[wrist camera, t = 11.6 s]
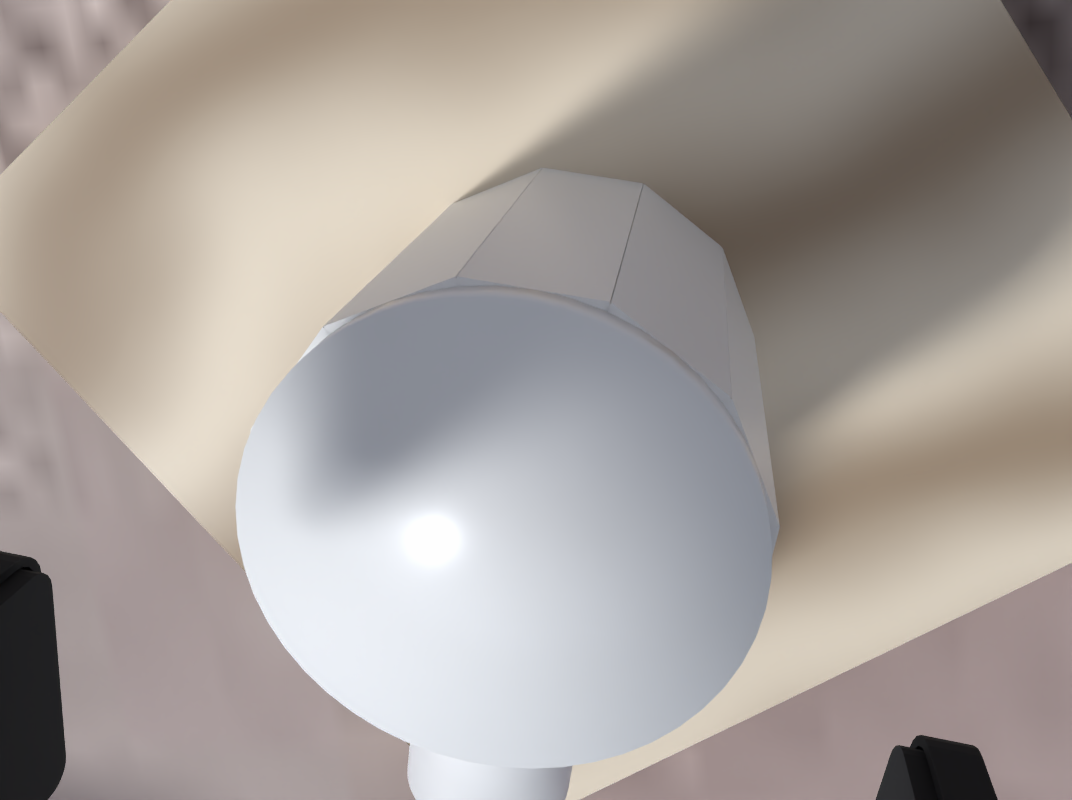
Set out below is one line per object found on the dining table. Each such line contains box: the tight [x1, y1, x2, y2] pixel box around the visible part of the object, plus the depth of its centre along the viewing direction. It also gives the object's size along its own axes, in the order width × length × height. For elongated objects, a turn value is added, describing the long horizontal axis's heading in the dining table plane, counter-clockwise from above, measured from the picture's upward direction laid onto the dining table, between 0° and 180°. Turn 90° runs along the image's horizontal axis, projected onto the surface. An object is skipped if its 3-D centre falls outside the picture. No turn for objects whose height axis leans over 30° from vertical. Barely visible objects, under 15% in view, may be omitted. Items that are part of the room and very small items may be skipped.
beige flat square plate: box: [0, 0, 1072, 800], centre depth 19 cm, size 20×20×7 cm
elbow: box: [235, 168, 780, 800], centre depth 18 cm, size 7×11×8 cm
